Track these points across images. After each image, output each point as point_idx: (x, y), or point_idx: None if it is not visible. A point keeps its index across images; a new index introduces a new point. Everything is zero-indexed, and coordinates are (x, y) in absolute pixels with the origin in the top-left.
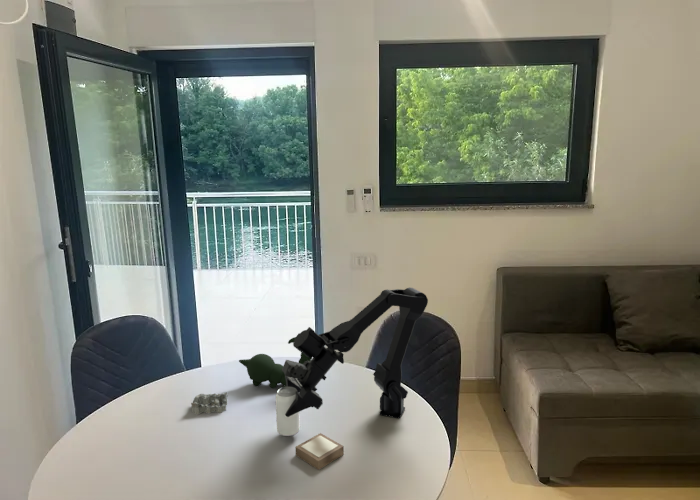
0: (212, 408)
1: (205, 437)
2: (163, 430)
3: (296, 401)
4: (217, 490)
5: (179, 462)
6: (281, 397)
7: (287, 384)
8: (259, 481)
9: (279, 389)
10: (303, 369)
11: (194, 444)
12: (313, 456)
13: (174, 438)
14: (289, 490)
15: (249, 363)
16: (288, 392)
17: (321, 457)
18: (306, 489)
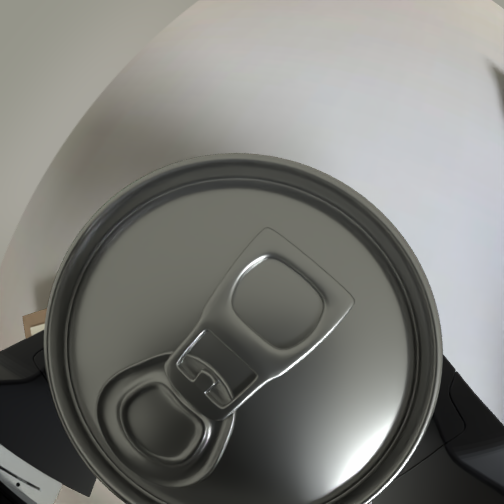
0: None
1: (399, 64)
2: (448, 26)
3: (3, 350)
4: (139, 61)
5: (297, 10)
6: (130, 208)
7: (478, 466)
8: (97, 144)
9: (401, 259)
10: None
11: (369, 39)
12: (41, 316)
13: (410, 24)
14: (34, 208)
15: None
16: (189, 390)
17: (29, 336)
18: (17, 248)
